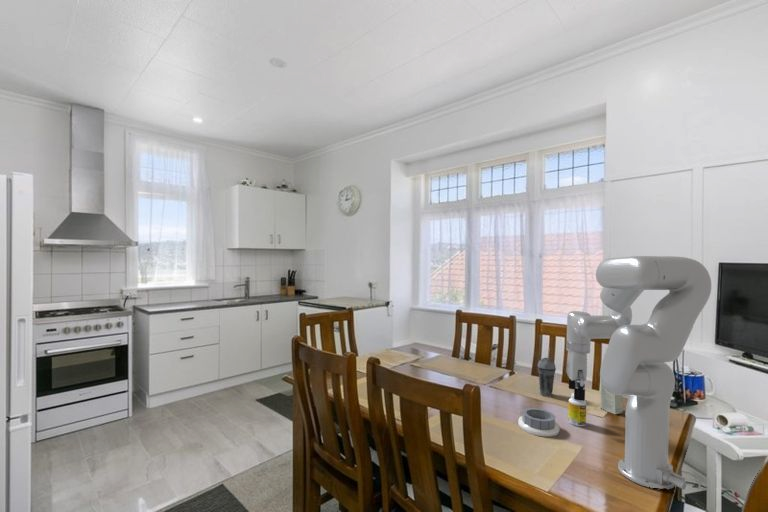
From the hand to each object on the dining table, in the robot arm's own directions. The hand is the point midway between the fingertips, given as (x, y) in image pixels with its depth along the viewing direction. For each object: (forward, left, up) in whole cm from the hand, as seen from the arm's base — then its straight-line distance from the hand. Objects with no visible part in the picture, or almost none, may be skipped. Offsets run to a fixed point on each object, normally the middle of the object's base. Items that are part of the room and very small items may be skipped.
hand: (576, 394), depth 130 cm
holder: (+3, +15, -10) cm, 19 cm away
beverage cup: (+22, -13, -10) cm, 28 cm away
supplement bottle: (-1, 0, -10) cm, 10 cm away
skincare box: (0, -22, -10) cm, 24 cm away
